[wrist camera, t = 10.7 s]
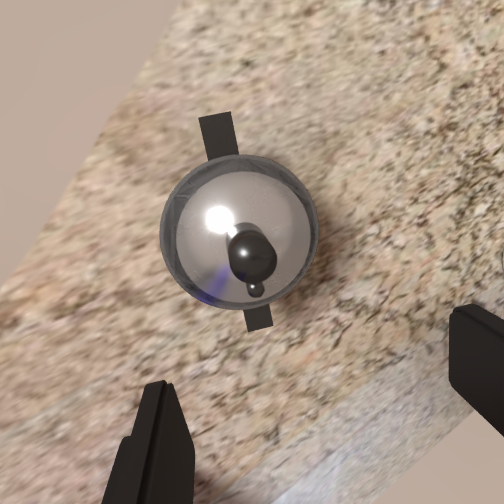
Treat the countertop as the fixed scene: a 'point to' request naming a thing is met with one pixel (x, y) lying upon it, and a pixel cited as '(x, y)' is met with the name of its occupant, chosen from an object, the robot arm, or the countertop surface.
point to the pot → (219, 162)
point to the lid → (243, 237)
